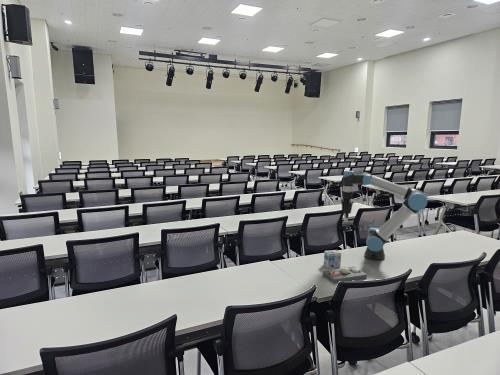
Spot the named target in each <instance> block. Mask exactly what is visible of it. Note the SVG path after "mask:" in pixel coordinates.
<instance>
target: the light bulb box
mask: <svg viewBox="0 0 500 375" xmlns="http://www.w3.org/2000/svg"><path fill="white" fill-rule="evenodd" d="M323 253H324V254H323V255H324V256H323V266H324V267H325V268H327V269H331V268H340V267H341V265H342V264H341V261H342V252H340V251H339V250H338V249H334V250H324V252H323Z"/></svg>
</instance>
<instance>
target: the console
mask: <svg viewBox="0 0 500 375" xmlns="http://www.w3.org/2000/svg"><path fill="white" fill-rule="evenodd" d="M346 267H347V266H346ZM347 268H349V273H348V274H342V273H341V268H340V267H339V268H335V269H329V270H327V269H326V270H323V271H322V276H324V277H325V278H326V279H327V280H329V281H330V282H331V283H333V284H334V285H335V284H337V285H338V284H339V283H338V282H339V281H349V282H353V281H352V280H355V281H361V280H366V279H368V278H367V274H368V273H365V272H364V271H361V269H359V273H353V272H351V270H352V268H357V267H355V266H353V265H352V266H348V267H347ZM331 271H335V272H337V273H338V276H334V277H332V276H331V275H330V272H331Z"/></svg>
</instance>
